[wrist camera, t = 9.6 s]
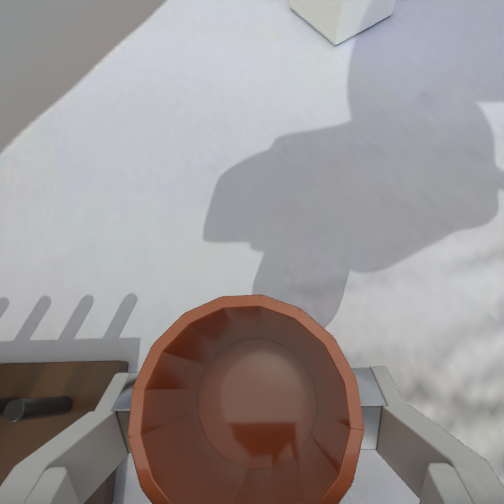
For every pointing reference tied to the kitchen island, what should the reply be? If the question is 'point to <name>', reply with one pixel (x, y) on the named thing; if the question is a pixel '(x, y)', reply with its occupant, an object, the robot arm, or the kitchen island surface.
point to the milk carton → (342, 15)
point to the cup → (245, 409)
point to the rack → (49, 407)
